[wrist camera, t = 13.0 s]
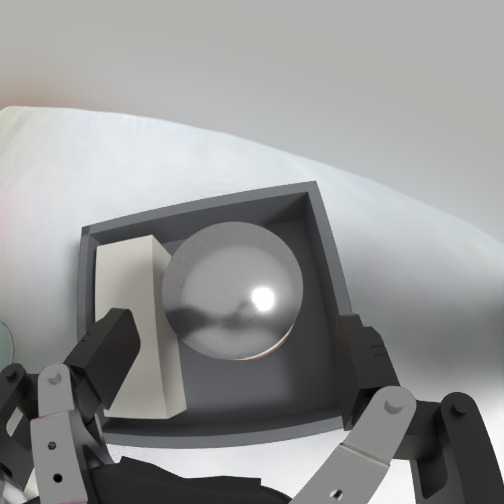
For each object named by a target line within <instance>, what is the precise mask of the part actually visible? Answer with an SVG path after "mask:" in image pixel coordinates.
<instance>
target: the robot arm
mask: <svg viewBox="0 0 504 504" xmlns="http://www.w3.org/2000/svg"><path fill="white" fill-rule="evenodd" d="M140 347H141V340H140V336H139V333H138V330H137V327H136V324H135V321H134V317H133V314H132V312H131V310H130V309H124V308H111V309H110V310H109V311H108V313H107V314H106V315H105V316H104V318H101V319H100V320H98V321H97V322H96V323H94V324H93V325H92V326H91V327H90V328H89V330H88V331H87V332H86V335H84V336H83V337H82V339H81V341H79V342H78V344H77V345H76V346H75V348H74V349H73V350H72V352H71V353H70V354H69V356H68V357H67V358H66V360H65V361H64V362H63V364H61V363H55V364H51V365H49V366H47V367H45V368H44V369H43V370H42V371H41V373H40V374H27V372H26V370H25V369H24V367H23V366H22V365H21V364H18V363H14V364H10V365H8V366H7V367H5V368H4V369H3V370H2V371H1V373H0V504H367V503H368V502H369V500H370V499H371V497H372V496H373V494H374V493H375V491H376V490H377V488H378V486H379V485H380V483H381V482H382V480H383V478H384V477H385V475H386V473H387V471H388V469H389V467H390V462H391V460H392V459H401V460H410V466H411V472H412V478H413V485H414V492H415V499H416V504H504V483H503V480H502V476H501V472H500V469H499V465H498V462H497V459H496V456H495V453H494V450H493V447H492V444H491V441H490V438H489V435H488V433H487V430H486V427H485V425H484V422H483V419H482V417H481V414H480V412H479V410H478V407H477V405H476V403H475V401H474V400H473V399H472V398H471V397H470V396H469V395H467V394H465V393H461V392H453V393H450V394H448V395H446V396H445V397H444V398H443V400H442V402H441V403H438V402H426V401H419V400H416V399H415V398H414V396H413V395H412V393H410V392H409V391H408V390H406V389H404V388H402V387H401V386H400V384H399V381H398V379H397V376H396V373H395V371H394V368H393V365H392V363H391V360H390V358H389V355H388V353H387V350H386V348H385V347H384V343H383V341H382V338H381V336H380V334H379V333H378V332H377V331H376V330H374V329H373V328H372V327H363V325H362V322H361V320H360V317H359V315H358V314H339V315H338V316H337V319H336V326H335V332H334V338H333V344H332V363H333V368H334V373H335V379H336V385H337V390H338V396H339V402H340V408H341V414H342V421H343V427H344V431H348V430H351V432H350V433H349V435H348V436H347V438H346V439H345V440H344V442H343V443H340V444H339V445H338V446H337V447H336V449H335V450H334V451H333V452H332V454H331V455H330V456H329V457H328V459H327V460H326V461H325V463H324V464H323V465H322V466H321V467H320V469H319V470H318V471H317V472H316V473H315V475H314V476H313V477H312V478H311V479H310V480H309V482H308V483H307V484H306V485H305V486H304V487H303V488H302V489H301V491H300V492H299V493H298V494H297V495H296V496H295V497H294V498H293V499H292V498H291V497H289V496H287V495H286V494H284V493H282V492H280V491H277V490H275V489H272V488H269V487H265V486H261V478H246V477H232V476H215V477H204V478H182V477H180V476H177V475H175V474H173V473H171V472H168V471H166V470H164V469H162V468H160V467H158V466H156V465H154V464H151V463H147V462H143V461H139V460H136V459H132V458H128V457H125V456H122V457H121V460H120V463H114V461H113V460H112V458H111V456H110V454H109V452H108V449H107V446H106V443H105V440H104V436H103V433H102V429H101V426H100V422H99V418H98V415H97V414H96V411H97V409H98V408H101V409H105V410H109V409H110V407H111V405H112V403H113V401H114V399H115V398H116V396H117V394H118V392H119V390H120V388H121V386H122V384H123V382H124V380H125V378H126V376H127V374H128V372H129V370H130V369H131V367H132V365H133V363H134V361H135V359H136V357H137V356H138V354H139V351H140ZM16 407H18V409H19V410H20V411H21V412H22V413H23V417H22V419H21V420H20V422H19V424H18V426H17V428H16V429H15V431H14V433H13V435H12V437H10V436H9V434H8V433H7V430H6V425H7V422H8V420H9V419H10V417H11V415H12V413H13V412H14V410H15V408H16ZM33 468H35V475H36V481H37V486H38V491H39V496H38V497H35V498H33V499H31V500H29V501H28V500H27V498H26V497H24V495H23V492H24V489H25V487H26V484H27V482H28V480H29V477H30V475H31V472H32V470H33Z"/></svg>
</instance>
